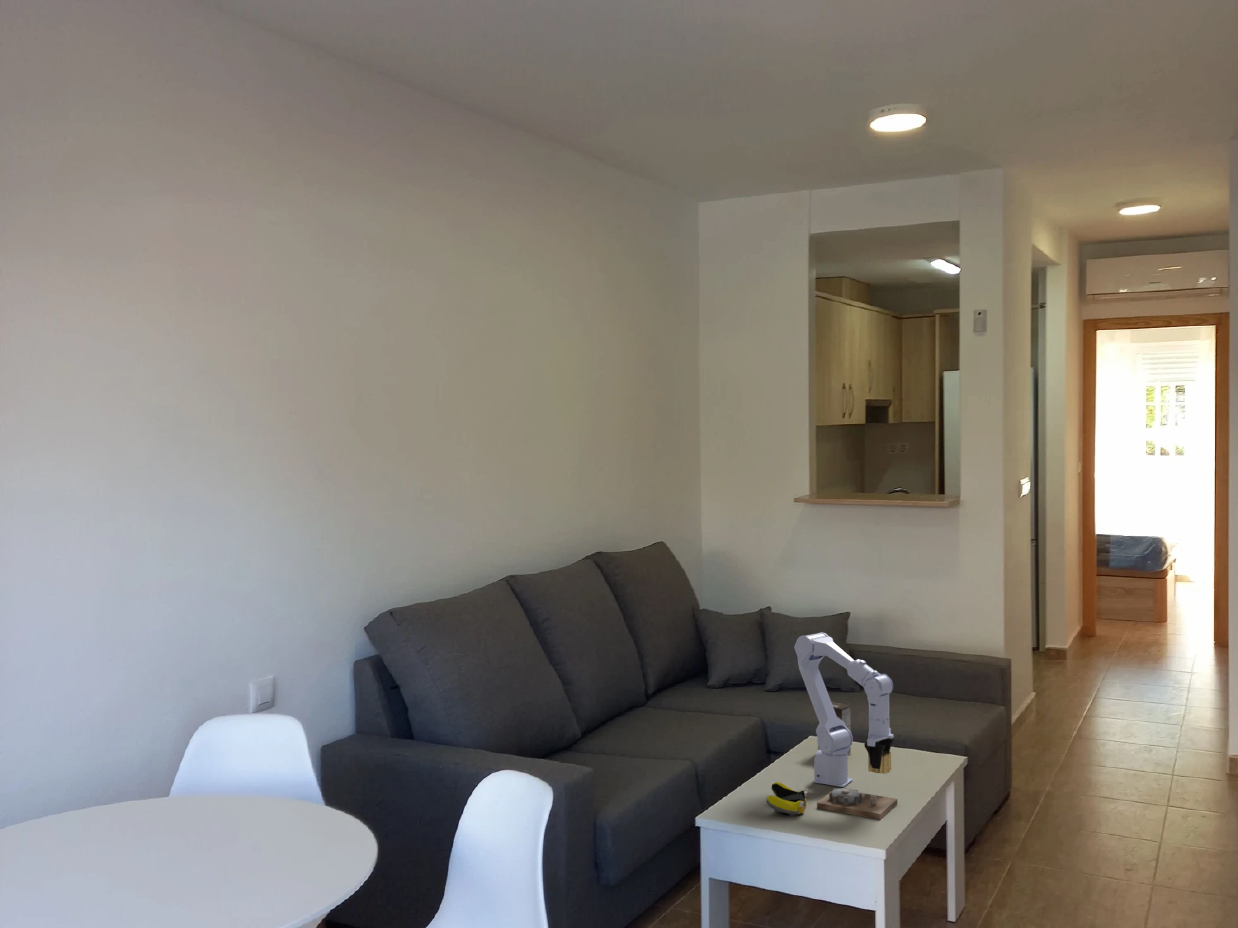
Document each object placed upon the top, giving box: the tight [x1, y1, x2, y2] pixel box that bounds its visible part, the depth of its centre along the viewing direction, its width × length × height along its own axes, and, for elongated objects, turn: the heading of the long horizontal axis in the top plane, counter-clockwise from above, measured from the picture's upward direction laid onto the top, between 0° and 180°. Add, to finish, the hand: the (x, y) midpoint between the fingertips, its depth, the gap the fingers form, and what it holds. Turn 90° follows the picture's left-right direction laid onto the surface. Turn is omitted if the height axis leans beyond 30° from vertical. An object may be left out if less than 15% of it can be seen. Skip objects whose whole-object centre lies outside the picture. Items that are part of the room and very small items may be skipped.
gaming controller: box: [765, 781, 808, 816], centre depth 298 cm, size 15×6×10 cm
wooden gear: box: [867, 751, 892, 775], centre depth 308 cm, size 6×6×5 cm
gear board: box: [816, 787, 898, 820], centre depth 299 cm, size 18×14×4 cm
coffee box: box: [817, 701, 852, 756], centre depth 349 cm, size 9×6×16 cm
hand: (879, 765), depth 308 cm, fingers closed on wooden gear, 6 cm apart
